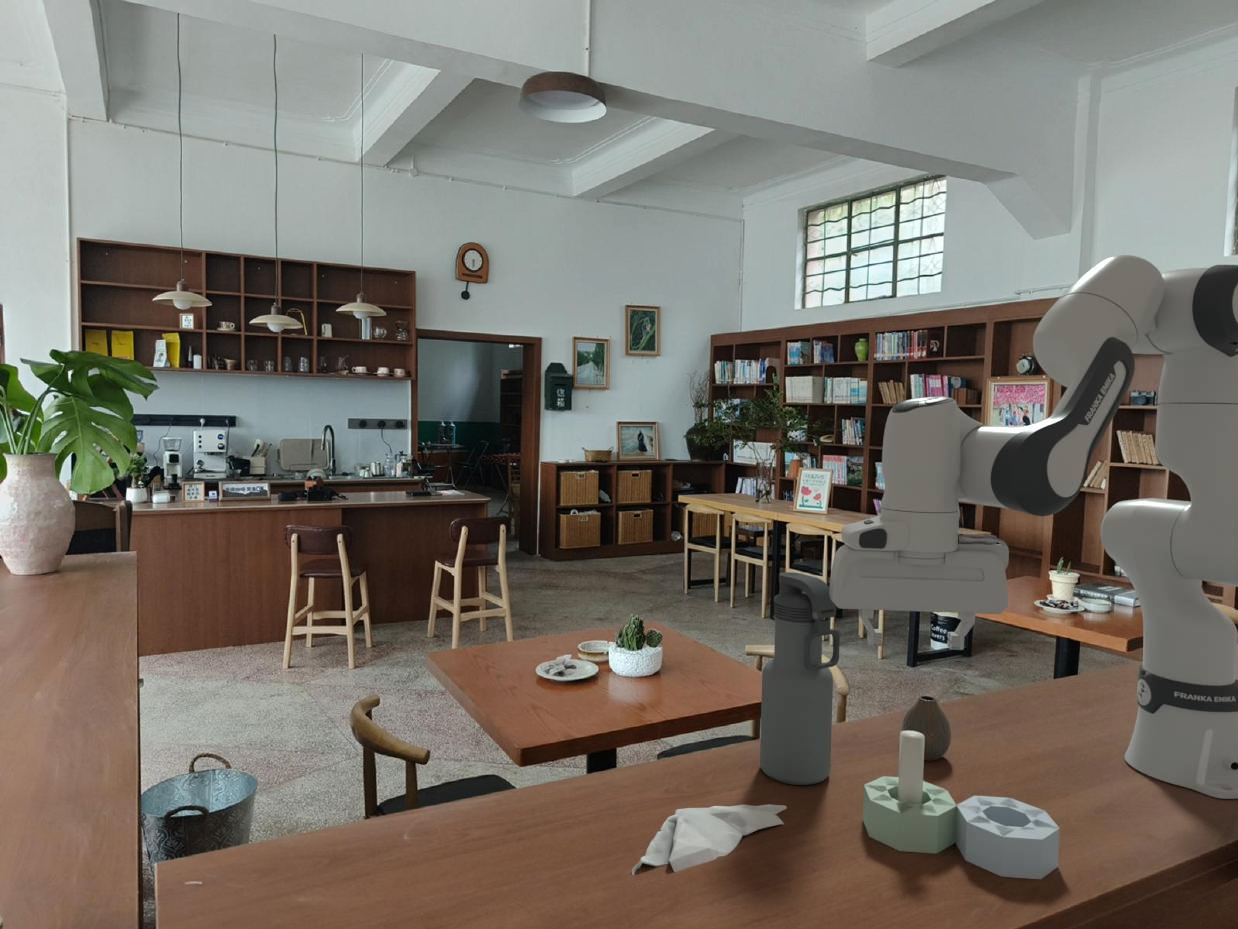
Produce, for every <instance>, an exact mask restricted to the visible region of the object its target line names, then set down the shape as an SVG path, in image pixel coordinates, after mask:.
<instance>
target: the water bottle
mask: <svg viewBox="0 0 1238 929" xmlns="http://www.w3.org/2000/svg"><path fill="white" fill-rule="evenodd" d="M778 582H779V584H780V593H778V594H776V595H775V596H774V598H773V602H774V610H773V611H774V613H773V616H772V617H773V619H774V621H775V622H774V623H775V624H774V648H773V649H774V650H773V651H774V655H773V656H774V657H773V658H772V659H770V660H769V661H767V662H766V663H765V666H764V667H763V668H762V673H761V706H760V707H761V708H760V710H761V711H760V713H761V714H760V748H759V750H760V752H759V753H760V754H759V765H760V768H761V770H762V771H763V773H764V774H765V775H766V776H768V777H769V778H771V779H773V780H775V781H777V782H781V783H784V784H787V785H796V786H807V785H808V786H809V785H815V784H818V783H821V782H823V781H824V780H826V779H827V778H828V776H829V775H830V772H831V760H832V754H831V753H832V731H833V730H832V727H833V724H832V723H833V722H832V721H833V697H834V696H833V694H834V693H833V691H834V688H833V687H834V676H833V673H832V671H831V669H830V668H832V667H835V666H836V665H837V664H838V662H839V659H840V642H841V641H840V639H841V638H840V632H839V631H838V630H836V629H833V628H831V618H835V617H836V616H837V615H836V614H837V606H836V605H835V604H834V603H833V602H832V601H831V599H830V595H829V587H830V585H828V584H827V582H825V581H824V580H822V579H820V578H819V577H816V576H811V575H809V574H803V573H802V572H801V573H799V572H793V571H792V572H788V571H787V572H786V571H785V572H784V571H783V572H779V574H778ZM828 635H831V636H832V640H833V642H832V646H833V647H832V657H831V659H829V661H827V662H823V660H822V658H823V657H822V656H823V654H822V653H823V636H828Z"/></svg>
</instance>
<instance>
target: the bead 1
mask: <svg viewBox="0 0 1238 929" xmlns="http://www.w3.org/2000/svg"><path fill="white" fill-rule="evenodd" d="M898 780H899V776H880V777H878V778H877V779H874V780H871V781H870V782H868V783H865V784H864V785H863V797H862V798H863V799H862V821H863V824H864V827H865V830H866V832H867V836H868V837H869V838H872V839H873V840H875V841H878V842H880V843H882V844H884V845H886V846H888V847H890V848H893V849H895V850H896V851H899V852H906V853H907V852H909V853H922V854H935V855H936V854H938V853H940V852H942V851H943V850H945V849H947V848H949V847H951V846H952V845H953V844H956V843H955V841H956V816H957V805H958V804H957V803H956V802H955V800H954V799H953V798H952V795H951V794H950V792H949V791H948V789H945V788H942V787H940V786H939V785H938V786H937V785H935V784H932V783H929V782H927V781H925V780H923V794H922V805H919V804H905V803H903V802H900V801H898Z"/></svg>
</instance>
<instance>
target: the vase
mask: <svg viewBox="0 0 1238 929" xmlns="http://www.w3.org/2000/svg"><path fill="white" fill-rule="evenodd" d="M901 726H902V727H901V732H902V731H916V732H919V733H922V734H923V735H924V736H925V740H924V761H929V762H930V761H931V762H932V761H938V760H940V759H941V758H942V757H943V756H945V755H946V753H947V752H948V750H949V748H950V745H951V741H952V729H951V724H950V721H949V719H948V716H947V715H946V713H945V712H944V711H943V709H942V708H941V707H940V705H939V703H938V701H937V698H936V697H933V696H931V695H919V696H918V698H917V700H916V702H915V703H914V704H913V705H912V706H911V707H910V708H909V709H908V711H906V713H905V716H904V717H903V721H902V725H901Z"/></svg>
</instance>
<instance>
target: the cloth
mask: <svg viewBox="0 0 1238 929" xmlns="http://www.w3.org/2000/svg"><path fill="white" fill-rule="evenodd" d="M786 809H788V807H787V805H782V804H781V805H780V804H770V803H769V804H762V805H751V804H750V805H749V804H739V805H732V806H723V805H713V806H710V807H687V808H677V809H675V811H674V812H675V813H674V814H673V815H670V816H668V817H667V818H666V820H665V821H664V822H663V824H662V826H661V828H660V831H657V832H656V834H655V835H654V838H652V840H651V841H650V843H649V845H648V847H647V849H646V852H645V855H644V856H641V857H640V860H639V862H637V863H636V864H635V865H634V866H633V867H632V869H631V876H633V877H634V875H635V873H636V872H637V870H638V869H640V868H641V867H642V864H645V865H649V866H653V867H662V866H663V867H664V866H667V865H671V868H672V871H673V872H674V873H677V872H679V871H682V870H685V869H688V868H691V867H694V866H698V865H701V864H704V863H707V862H711V861H714V860H716V859H717V858H718V857H725V856H727V855H729V854H730V853H731V852H733V851H734V850H735V849H736V848H737V847H738V846H739V844H740V841H741V840H742V838H743V837H744V836H748V835H750V834H753V832H756V831H757V832H758V831H760V830H763V829H766V828H770V827H774V826H778V825H779V826H780V825H785V823H784V822H783V820H782V819H781V818H780V817H779V816H778V815H777V814H779V813H781V812H782V811H784V810H786Z"/></svg>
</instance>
